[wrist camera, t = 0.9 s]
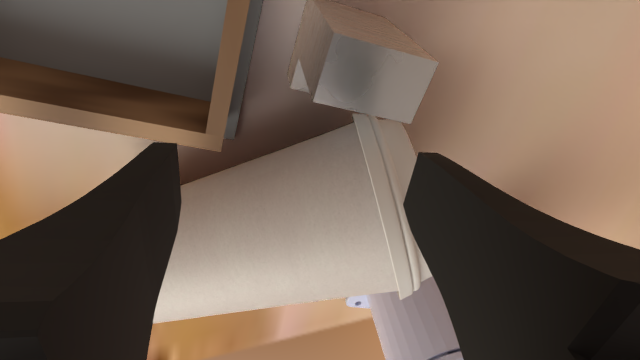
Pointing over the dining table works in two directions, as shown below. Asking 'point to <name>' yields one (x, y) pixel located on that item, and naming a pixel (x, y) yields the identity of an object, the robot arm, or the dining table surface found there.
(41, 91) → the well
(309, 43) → the brushed aluminum block
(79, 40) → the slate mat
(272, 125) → the dining table surface
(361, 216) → the coffee cup
